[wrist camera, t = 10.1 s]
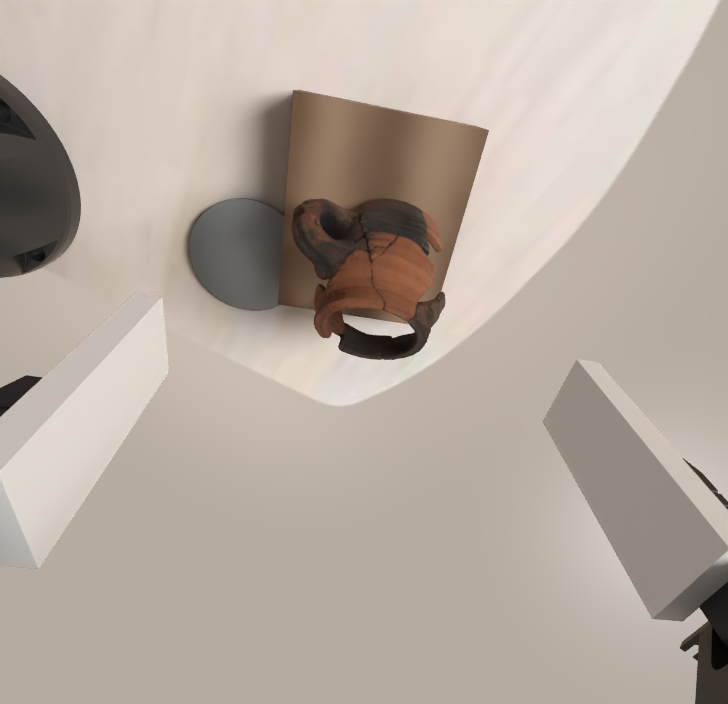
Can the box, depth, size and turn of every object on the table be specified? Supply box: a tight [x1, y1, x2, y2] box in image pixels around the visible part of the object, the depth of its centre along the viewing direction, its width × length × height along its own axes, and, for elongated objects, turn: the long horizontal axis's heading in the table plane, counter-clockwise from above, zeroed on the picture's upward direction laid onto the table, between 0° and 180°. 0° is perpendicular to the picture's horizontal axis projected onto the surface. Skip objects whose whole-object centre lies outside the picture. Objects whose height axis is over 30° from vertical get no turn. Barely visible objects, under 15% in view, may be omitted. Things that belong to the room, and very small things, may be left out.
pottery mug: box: [291, 199, 445, 360], centre depth 27 cm, size 12×9×8 cm
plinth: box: [278, 90, 489, 324], centre depth 30 cm, size 12×14×4 cm
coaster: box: [189, 198, 284, 311], centre depth 33 cm, size 9×9×1 cm
